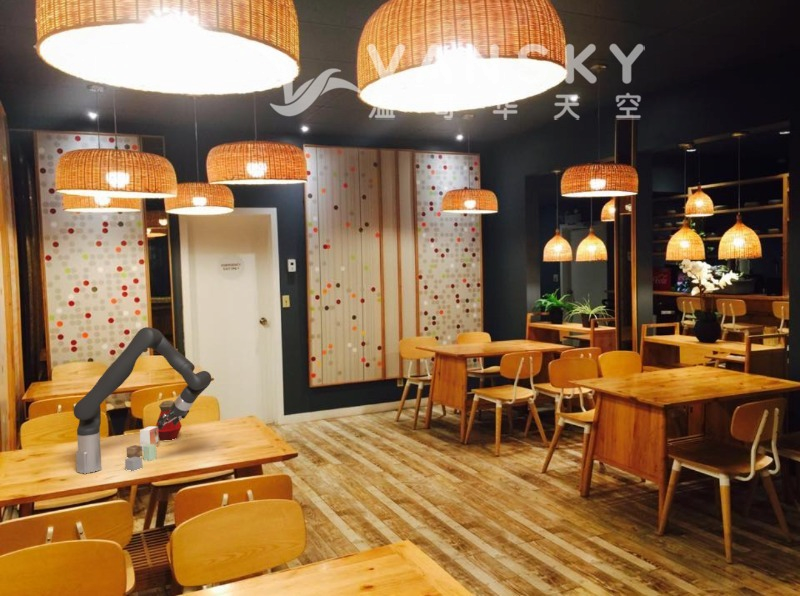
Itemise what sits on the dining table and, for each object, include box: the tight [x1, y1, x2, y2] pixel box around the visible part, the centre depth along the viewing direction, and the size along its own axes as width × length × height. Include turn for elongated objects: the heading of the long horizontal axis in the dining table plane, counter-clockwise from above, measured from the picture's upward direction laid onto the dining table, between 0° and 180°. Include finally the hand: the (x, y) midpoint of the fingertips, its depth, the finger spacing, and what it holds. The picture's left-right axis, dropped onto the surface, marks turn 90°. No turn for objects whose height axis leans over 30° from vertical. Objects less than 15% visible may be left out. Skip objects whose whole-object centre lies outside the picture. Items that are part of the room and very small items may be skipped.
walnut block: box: [126, 444, 144, 459], centre depth 308 cm, size 5×5×5 cm
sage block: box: [142, 444, 157, 462], centre depth 303 cm, size 4×4×7 cm
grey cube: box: [124, 457, 143, 472], centre depth 289 cm, size 5×5×5 cm
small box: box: [139, 425, 160, 451], centre depth 322 cm, size 8×6×10 cm
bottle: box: [155, 400, 182, 441], centre depth 339 cm, size 16×14×20 cm
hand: (166, 425), depth 296 cm, fingers open, 8 cm apart
